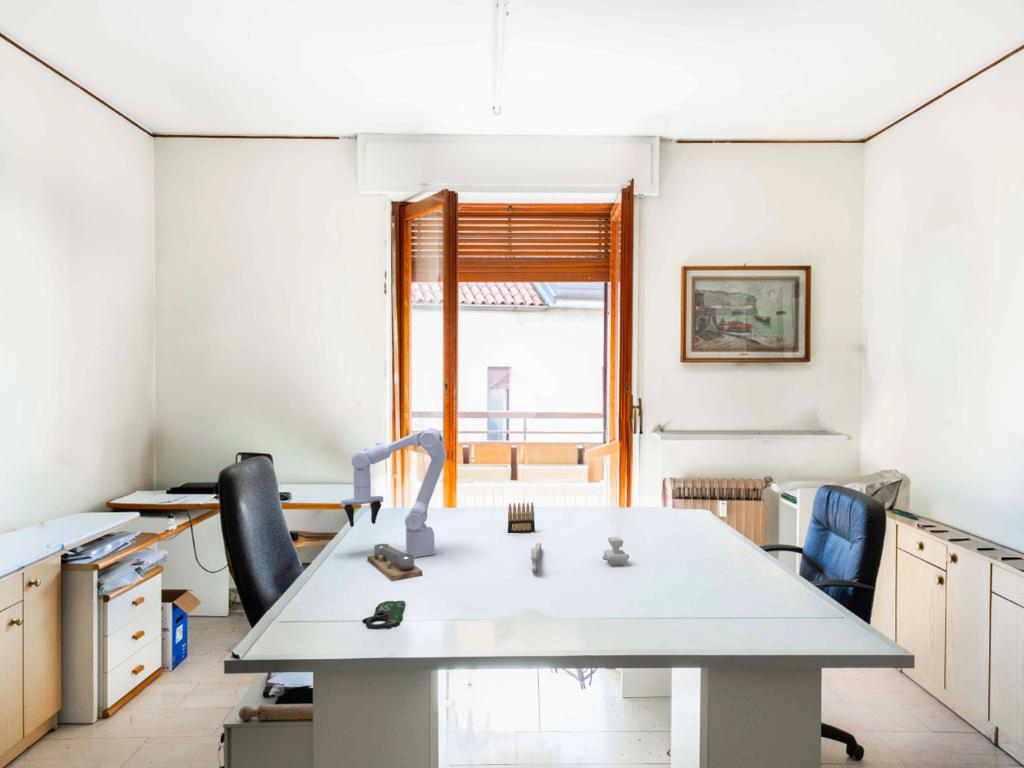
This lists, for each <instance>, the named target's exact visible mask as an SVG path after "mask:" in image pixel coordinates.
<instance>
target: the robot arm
mask: <svg viewBox="0 0 1024 768" xmlns="http://www.w3.org/2000/svg"><path fill="white" fill-rule="evenodd" d="M409 446H415V447H420V446H421V447H422V448H423V449H424V450H425V451H426V452H427V454H428V456H429V458H430V459H431V460H430V463H429V464H428V465H429V466H428V468H427V470H426V473H425V475H424V478H423V481H422V484H421V487H420V489H419V491H418V494H417V497H416V500H415V502H414V504H413V506H412V508H411V510H410V512H409V513H408V514H407V515H406V517H405V519H404V524H405V526H406V527H405V546H406V548H405V550H402V551H401V552H403V553H406V554H412V555H414V559H416V558H419V557H425V556H432V555H436V552H435V531H434V529H433V527H431V526H427V525H426V523H425V522H426V521H427V519H428V509H429V504H430V501H431V499H432V498H433V497H432V496H433V495H434V494H433V493H434V491H435V488H436V486H437V484H438V481H439V477H440V476H441V473H442V470H443V468H444V464H445V462H446V460H447V451H446V447H445V444H444V437H443V435H442V434H441V433H440V431H439V430H438V429H436V428H432V427H431V428H428V429H426V430H421V431H417V432H413V433H411V434H408V435H407V436H403V437H402V438H399V439H398V440H395V441H393V442H391V443H386V442H380V441H379V442H377V443H375V445H374V446H371V447H369V448H368V447H365V448H363V450H362V451H359V452H357V453H355V454H354V455H353V456H352V458H351V465H352V467H353V498H352V497H351V498H347V499H341V500H340V506H341V507H342V508H343V509H344V511H345V513H346V515H347V518H348V521H349V526H350V527H351V528H353V527H354V525H355V520H354V518H355V517H354V514H355V508H354V506H357V505H364V504H365V505H367V504H370V511H371V518H370V519H371V524H373V525H375V524H376V520H377V516H378V513H379V511H380V509H381V507H382V503H384V496H383V495H375V496H373V495H372V494H371V492H372V489H371V465H375V464H378V463H379V462H383V461H385V460H387V459H389V458H390V457H391V455H392V453H394V452H396V451H400V450H402V449H405V448H407V447H409ZM371 495H372V496H371Z"/></svg>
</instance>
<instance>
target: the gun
mask: <svg viewBox="0 0 1024 768" xmlns="http://www.w3.org/2000/svg"><path fill="white" fill-rule="evenodd" d="M405 605H406V601H405V600H396V601H395V600H388V601H387V600H386V601H382V602H380V603H379V604H377V606H376V607H375V611H374V614H373V615H372V616H368V617H365V618H363V619H362V621H361V622H363V623H362V624H365V627H366V628H367V629H368V630H371V629H372V630H382V629H386V630H388V629H389V630H391V629H392V628H393V627H394V628H396V627H397V628H398V626H400V625H401V622H402V621H403V618H404V617H403V614H404V611H405V608H406V606H405ZM384 621H385V622H384ZM375 622H382V623H375Z"/></svg>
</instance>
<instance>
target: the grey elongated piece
mask: <svg viewBox="0 0 1024 768" xmlns="http://www.w3.org/2000/svg"><path fill="white" fill-rule="evenodd" d="M373 549H374V554H373V555H374V558H375V559H377V560H379V555H382V561H384V562H386V563H387V561H391V565H393V566H395V567H397V568H399V570H400V571H412V570H414V565H415V558H414V555H412V554H406V553H403V552H402V551H401V550H399V549H396V548H394V547H392V546H390V545H389V544H387V543H378V544H375V545H374V548H373Z"/></svg>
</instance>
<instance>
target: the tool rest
mask: <svg viewBox="0 0 1024 768" xmlns="http://www.w3.org/2000/svg"><path fill="white" fill-rule="evenodd" d="M366 559H367V562H369V563H370V565H372V566H373V568H376V569H377V570H378V571H379V572H380V573H381V574H383V575H384V576H385V577H387V578H388V579H389V580H390V581H391V582H393V581H394V582H395V581H399V580H405V579H409V578H410V579H411V578H415V577H421V576H423V570H422V569H421V568H419V567H418V566H417V565H415V564H414V570H412V571H400V570H399V568H397V567H395V566H393V565H391V561H387V563H386V562H384V561H382V555H379V560H377V559H375V558H374V554H373V555H367V556H366Z"/></svg>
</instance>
